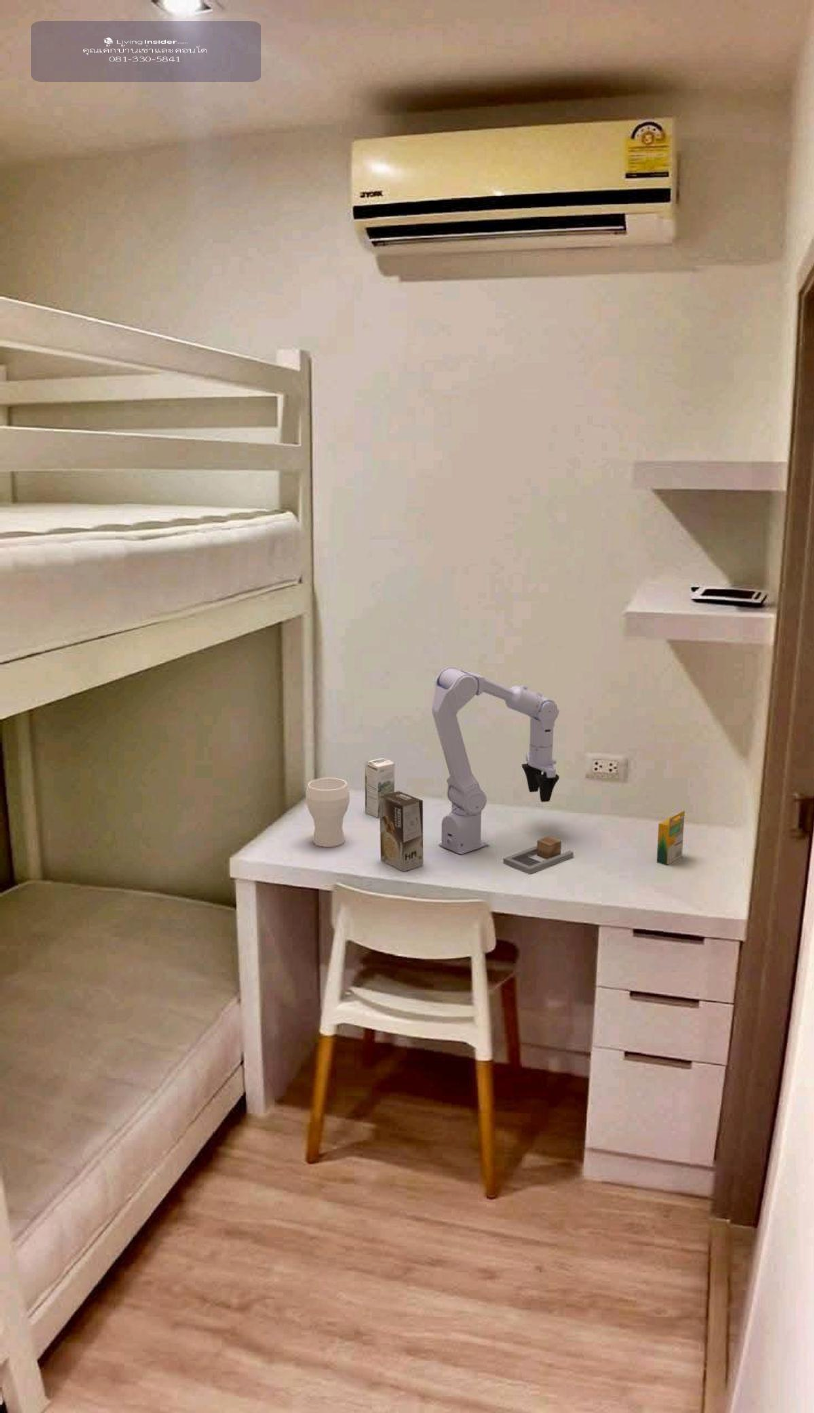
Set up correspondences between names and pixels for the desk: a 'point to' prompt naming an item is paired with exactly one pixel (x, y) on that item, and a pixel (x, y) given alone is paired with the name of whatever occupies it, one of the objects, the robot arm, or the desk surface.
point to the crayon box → (670, 839)
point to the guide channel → (514, 863)
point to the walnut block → (548, 847)
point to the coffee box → (401, 830)
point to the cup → (328, 809)
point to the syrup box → (377, 783)
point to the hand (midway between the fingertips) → (539, 796)
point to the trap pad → (528, 861)
